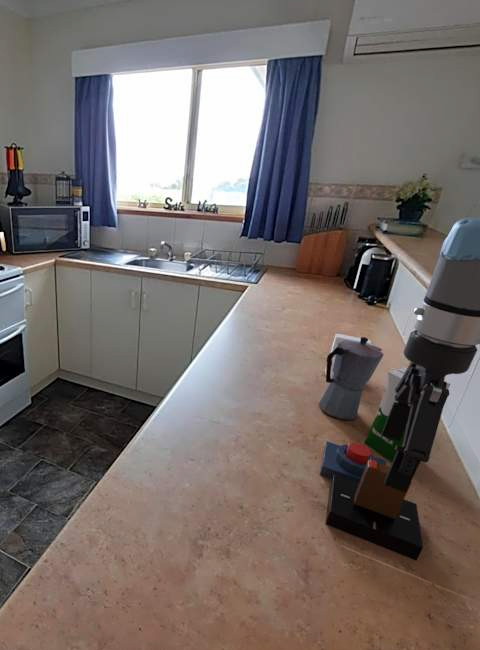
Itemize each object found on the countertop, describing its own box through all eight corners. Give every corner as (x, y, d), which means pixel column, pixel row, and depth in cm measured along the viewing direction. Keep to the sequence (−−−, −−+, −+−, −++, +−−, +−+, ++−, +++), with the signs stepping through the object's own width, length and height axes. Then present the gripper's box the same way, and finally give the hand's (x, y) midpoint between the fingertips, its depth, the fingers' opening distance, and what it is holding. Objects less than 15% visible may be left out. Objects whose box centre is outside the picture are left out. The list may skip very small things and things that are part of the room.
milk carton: (423, 458, 84) (460, 375, 76) (393, 467, 81) (428, 382, 73) (385, 433, 91) (416, 355, 83) (356, 440, 88) (385, 361, 80)
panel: (410, 516, 69) (416, 502, 68) (416, 561, 61) (423, 547, 60) (329, 486, 75) (334, 473, 74) (325, 524, 67) (330, 511, 65)
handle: (394, 510, 66) (411, 472, 63) (395, 519, 65) (412, 480, 61) (354, 495, 69) (368, 458, 66) (354, 504, 67) (368, 466, 64)
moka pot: (375, 416, 98) (402, 342, 89) (328, 428, 92) (353, 350, 84) (343, 396, 106) (366, 327, 97) (298, 406, 100) (318, 333, 92)
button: (368, 455, 78) (371, 447, 77) (368, 467, 75) (371, 458, 74) (345, 448, 80) (348, 439, 79) (345, 459, 77) (347, 451, 76)
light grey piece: (357, 372, 119) (369, 336, 114) (359, 386, 111) (372, 347, 106) (324, 365, 122) (335, 329, 117) (324, 378, 114) (335, 340, 109)
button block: (382, 468, 80) (388, 453, 79) (383, 497, 73) (390, 481, 71) (323, 449, 85) (328, 434, 83) (319, 474, 78) (324, 458, 76)
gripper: (405, 307, 66) (366, 414, 74) (421, 364, 45) (365, 502, 54) (460, 317, 62) (413, 427, 71) (505, 383, 42) (431, 526, 51)
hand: (392, 460), depth 63 cm, fingers open, 13 cm apart
